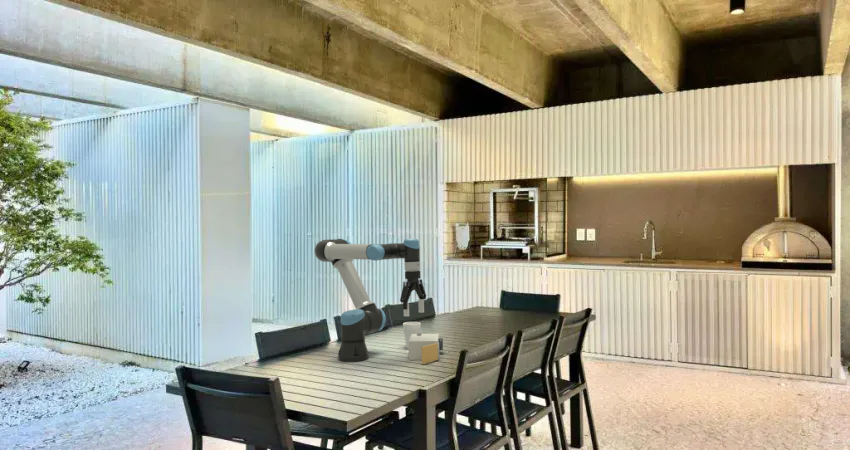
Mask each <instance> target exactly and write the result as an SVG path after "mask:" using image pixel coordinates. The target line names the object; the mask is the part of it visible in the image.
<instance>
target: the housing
mask: <svg viewBox="0 0 850 450" xmlns="http://www.w3.org/2000/svg"><path fill="white" fill-rule="evenodd" d="M435 343H439V351H443V350H444V338H443V337H440V333H421V332H420V333H417V334H412V335H411V337H410V340H409V349H408V359H409V361H422V347H424V346H428V345H431V344H435Z"/></svg>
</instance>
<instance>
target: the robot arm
mask: <svg viewBox="0 0 850 450" xmlns="http://www.w3.org/2000/svg"><path fill="white" fill-rule="evenodd" d="M420 249H421V248H420V240H419V239H418V238H405V239H404V240H403V242H402V243H393V242H391V243H381V244H379V243H378V244H377V243H376V244H374V243H373V244H369V243H351V242H350V241H349V240H348V239H345V238H335V239H321V240H320V241H318V242H317V243H316V244H315V247H314V255H315V257H316V259H318V260H319V261H321V262H324V263H328V262H330V263H331V264H332V266H333V268H334V269H336V270H337V272H339V275H340V278H341V280H342V282H343V284H344V286H345V288H346V290H347V292H348V295H349V297H350V300H351V302H352V304H353V306H354V308H355V309H349V310H346V311H344V312H342V313H341V315H340V320H339V321H340V322H339V323H340V337H341V339H340V342H341V343H340V347H339V350H338V354H337V359H338V361H340V362H350V363H352V362H362V361H365V360H368V359H369V358H370V356H369V355H370V353H369V349H368V348H367V345H366V335H369V334H374V333H377V332H380V331H381V330H383V328H384V327H385V325H386V322H387V318H386V317H387V316H386V313H385V312H384V310H383V309H381V308H378V306H377V305H376V303H375V302H373V301H372V300H370V297H369V295H368V292H367V291H366V288H365V286H364V284H363V282H362V280H361V278H360V275H359V273H358V271H357V269H356V267H355V264H354V263H353V261H354V260H363V261H365V260H367V261H369V260H370V261H376V262H377V261H383V260H393V259H397V260H398V259H404V260H403V261H404V271H405V272H404V278H405V280H407V281H403V282H402V283H403V284H402V290H401V295H400V298H399V301H400V303H402V304H403V306H402V308H403V309H402V310H403V317H410V302H409V301H410V300H409V299H410V298H411V294H412V292H414V291H415V293H416V294H417V297H418V299H417V300H418V301H417V302H418V305H417V306H418V313H422V314H423V313H425V300H426V299H427V294H426V290H425V287H424V283H423V279H421V271H420V269H421V260H420V259H421V257H420V254H421V253H420Z"/></svg>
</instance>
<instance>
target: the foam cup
mask: <svg viewBox="0 0 850 450" xmlns="http://www.w3.org/2000/svg"><path fill="white" fill-rule="evenodd" d="M421 325H422V323H421V322H418V321H406V322H403V323H402V328H403V334H404V340H405V346H406V349H408V350H409V340H410V337H411V335H412V334H417V333H421V328H422V326H421Z"/></svg>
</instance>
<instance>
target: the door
mask: <svg viewBox="0 0 850 450" xmlns="http://www.w3.org/2000/svg"><path fill="white" fill-rule="evenodd" d="M439 360H440V350H439V343H435V344H431V345H428V346H424V347H422V360H421V364H422V365H426V364H428V363H432V362H435V361H439Z"/></svg>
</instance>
